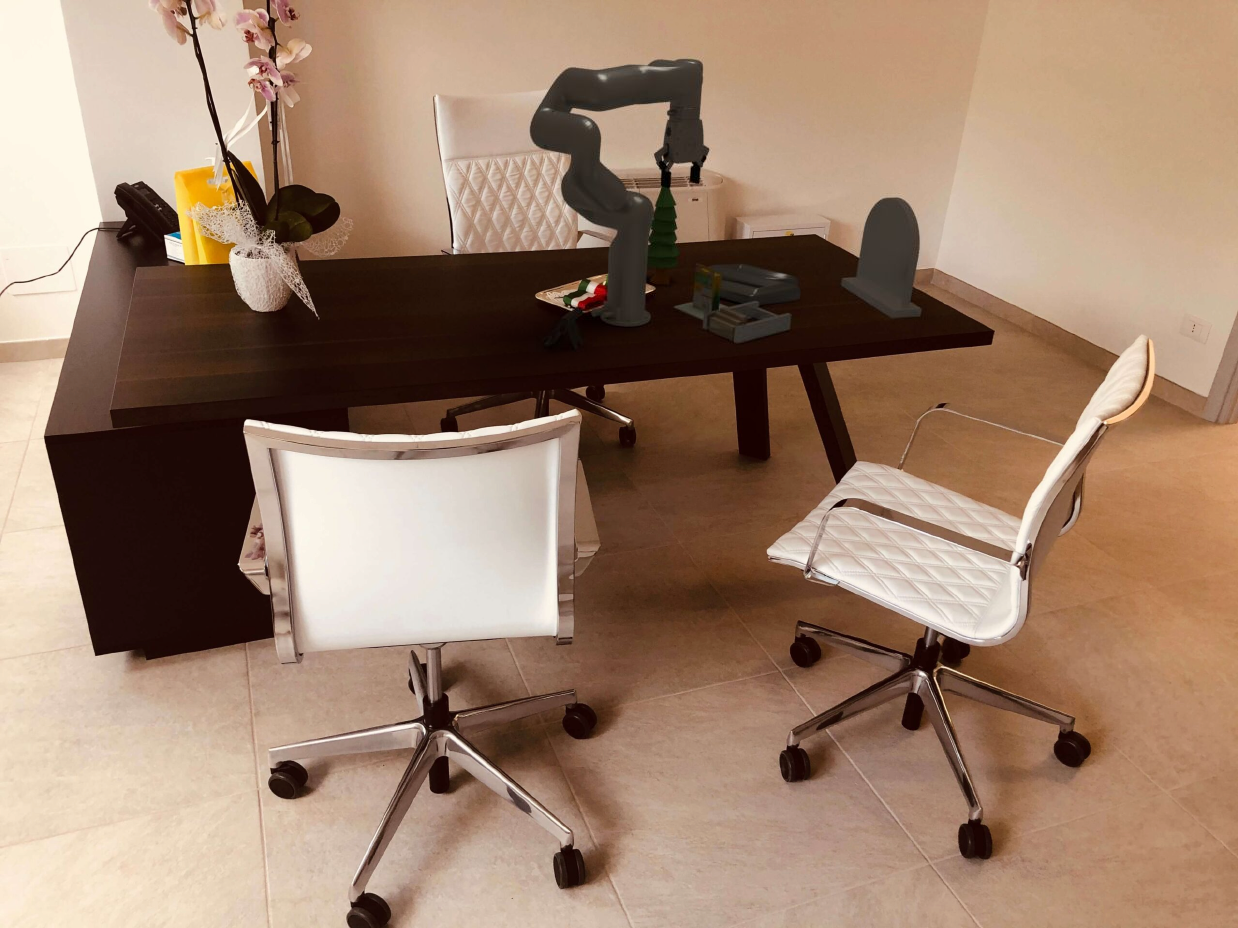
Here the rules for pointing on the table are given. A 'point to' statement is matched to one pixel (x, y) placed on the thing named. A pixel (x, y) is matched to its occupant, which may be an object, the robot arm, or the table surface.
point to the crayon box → (706, 289)
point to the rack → (757, 329)
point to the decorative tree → (663, 237)
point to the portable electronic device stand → (568, 325)
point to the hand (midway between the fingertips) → (680, 185)
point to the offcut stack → (726, 322)
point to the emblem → (756, 284)
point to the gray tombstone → (888, 259)
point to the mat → (693, 310)
